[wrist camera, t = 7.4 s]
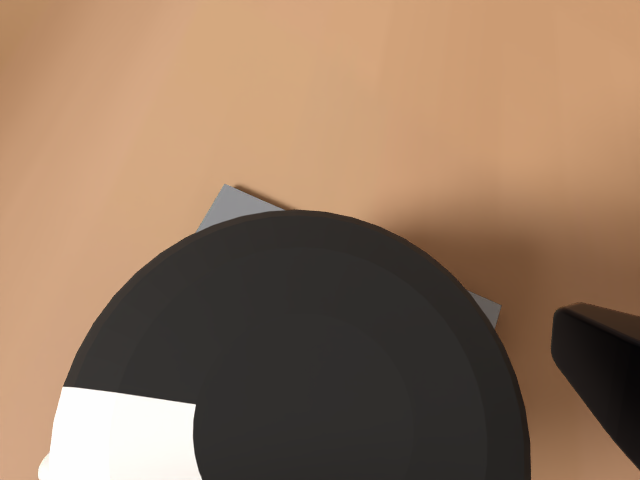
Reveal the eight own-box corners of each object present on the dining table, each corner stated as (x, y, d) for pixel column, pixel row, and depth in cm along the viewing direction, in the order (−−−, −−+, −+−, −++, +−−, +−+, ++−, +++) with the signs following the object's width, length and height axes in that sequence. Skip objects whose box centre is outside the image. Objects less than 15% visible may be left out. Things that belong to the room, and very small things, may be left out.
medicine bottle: (262, 291, 18) (257, 66, 7) (422, 411, 17) (694, 358, 6) (123, 461, 16) (-204, 504, 5) (300, 614, 15) (401, 1117, 4)
